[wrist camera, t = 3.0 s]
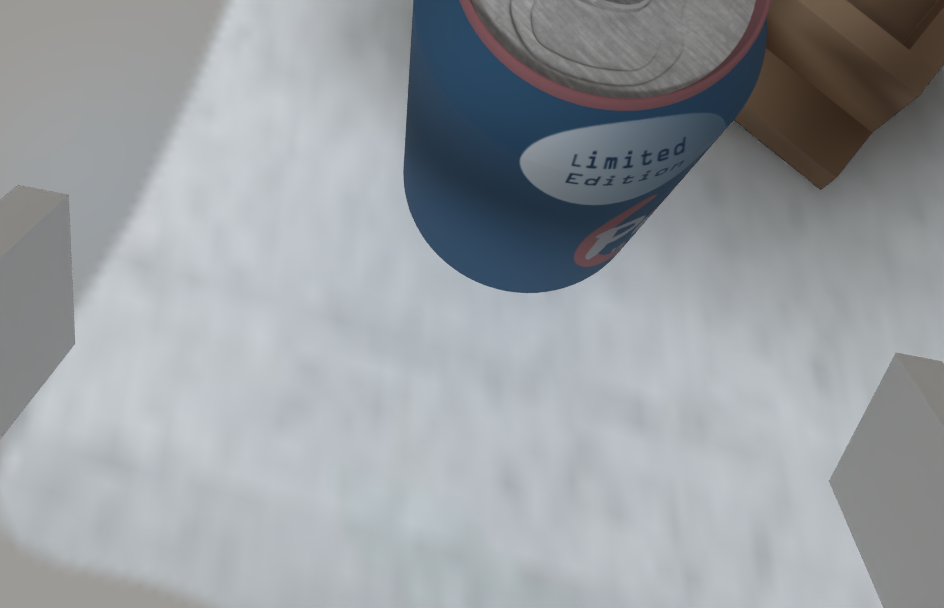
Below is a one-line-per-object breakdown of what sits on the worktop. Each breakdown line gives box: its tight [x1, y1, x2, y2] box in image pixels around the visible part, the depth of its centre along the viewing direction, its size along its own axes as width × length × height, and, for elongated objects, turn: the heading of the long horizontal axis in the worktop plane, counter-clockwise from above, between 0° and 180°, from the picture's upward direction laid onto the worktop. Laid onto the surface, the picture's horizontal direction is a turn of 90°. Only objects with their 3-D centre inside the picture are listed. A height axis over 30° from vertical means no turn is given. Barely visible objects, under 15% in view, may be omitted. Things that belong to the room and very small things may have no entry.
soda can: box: [404, 0, 771, 293], centre depth 21 cm, size 7×7×12 cm
